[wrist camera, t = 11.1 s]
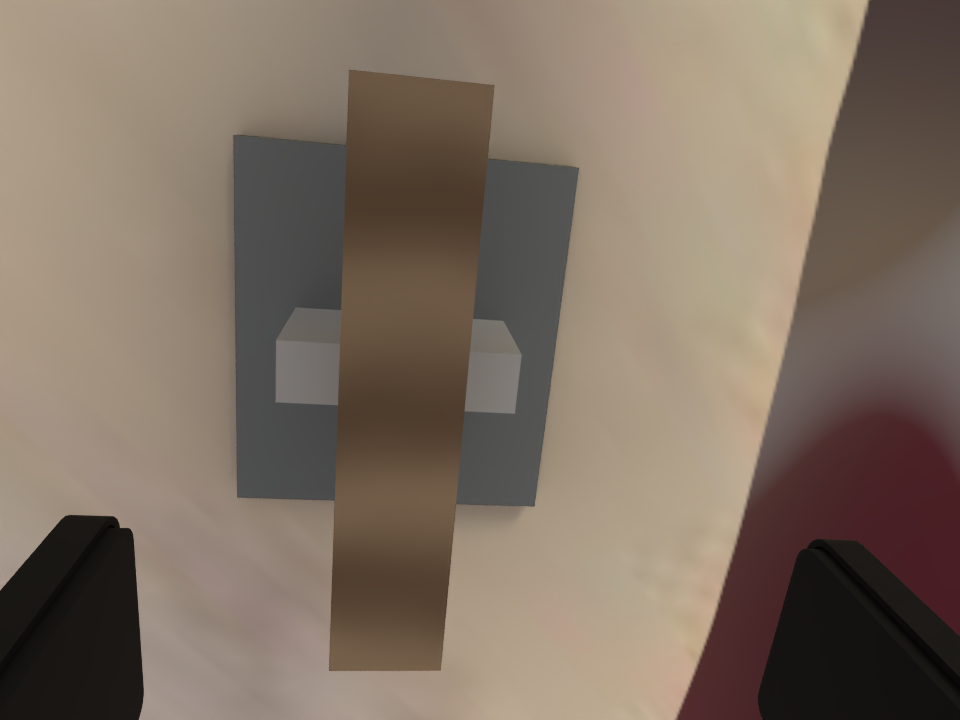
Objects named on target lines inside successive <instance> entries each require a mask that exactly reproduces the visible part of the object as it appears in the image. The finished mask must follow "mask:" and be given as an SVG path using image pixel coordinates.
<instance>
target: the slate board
mask: <svg viewBox="0 0 960 720" xmlns="http://www.w3.org/2000/svg"><path fill="white" fill-rule="evenodd" d="M233 137H234V232H235V326H236V420H237V497H239V498H272V499H305V500H335V479H336V449H337V420H338V390H339V360H340V330H341V301H342V271H343V241H344V211H345V182H346V152H347V145H338V144H327V143H317V142H306V141H296V140H285V139H275V138H265V137H254V136H244V135H233ZM578 171H579V168H576V167H569V166H558V165H548V164H537V163H527V162H516V161H506V160H495V159H488V160H487V171H486V182H485V193H484V204H483V215H482V226H481V237H480V247H479V258H478V269H477V280H476V291H475V302H474V313H473V324H472V335H471V346H470V357H469V367H468V378H467V389H466V400H465V411H464V422H463V433H462V444H461V455H460V466H459V476H458V487H457V498H456V504H469V505H502V506H535V498H536V490H537V483H538V475H539V468H540V460H541V452H542V445H543V437H544V430H545V422H546V415H547V407H548V399H549V392H550V384H551V377H552V369H553V361H554V354H555V346H556V339H557V331H558V323H559V316H560V308H561V301H562V293H563V285H564V278H565V270H566V263H567V255H568V247H569V240H570V232H571V225H572V217H573V209H574V202H575V194H576V187H577V179H578Z"/></svg>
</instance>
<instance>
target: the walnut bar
mask: <svg viewBox="0 0 960 720" xmlns="http://www.w3.org/2000/svg"><path fill="white" fill-rule="evenodd" d="M493 95H494V85H486V84H477V83H468V82H458V81H449V80H440V79H430V78H421V77H412V76H402V75H393V74H384V73H374V72H365V71H356V70H349V93H348V122H347V152H346V182H345V211H344V241H343V271H342V301H341V330H340V360H339V390H338V420H337V449H336V479H335V509H334V539H333V568H332V598H331V628H330V658H329V671H441V662H442V651H443V640H444V629H445V618H446V607H447V596H448V586H449V575H450V564H451V553H452V542H453V531H454V520H455V509H456V498H457V487H458V476H459V466H460V455H461V444H462V433H463V422H464V411H465V400H466V389H467V378H468V367H469V357H470V346H471V335H472V324H473V313H474V302H475V291H476V280H477V269H478V258H479V247H480V237H481V226H482V215H483V204H484V193H485V182H486V171H487V160H488V149H489V138H490V128H491V117H492V106H493Z"/></svg>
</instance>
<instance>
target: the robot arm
mask: <svg viewBox="0 0 960 720" xmlns="http://www.w3.org/2000/svg"><path fill="white" fill-rule="evenodd" d="M143 696H144V687H143V672H142V657H141V642H140V627H139V612H138V597H137V582H136V567H135V552H134V539H133V533H132V531H131V529H129V528H120V526H119V522H118V520H117V519H116V518H115V517H114V516H84V515H68V516H65V517H64V518H63V519H61V520H60V522H59V523H58V524H57V525H56V526H55V527H54V529H53V530H52V531H51V532H50V533H49V534H48V536H47V537H46V538H45V539H44V540H43V541H42V543H41V544H40V545H39V546H38V547H37V548H36V550H35V551H34V552H33V553H32V554H31V555H30V557H29V558H28V559H27V560H26V561H25V562H24V564H23V565H22V566H21V567H20V568H19V569H18V571H17V572H16V573H15V574H14V575H13V576H12V578H11V579H10V580H9V581H8V582H7V583H6V585H5V586H4V587H3V588H2V589H1V590H0V720H139V717H140V713H141V709H142V704H143ZM758 704H759V710H760V713H761V717H762V719H763V720H960V636H959V635H958V634H956V633H955V632H954V631H953V630H952V629H951V628H950V627H949V626H948V625H947V624H946V623H945V622H944V621H943V620H941V618H939V617H938V616H937V615H936V614H935V613H934V612H933V611H932V610H931V609H930V608H929V607H928V606H927V605H926V604H925V603H923V602H922V601H921V600H920V599H919V598H918V597H917V596H916V595H915V594H914V593H913V592H912V591H911V590H910V589H909V588H908V587H906V586H905V585H904V584H903V583H902V582H901V581H900V580H899V579H898V578H897V577H896V576H895V575H894V574H893V573H892V572H890V571H889V570H888V569H887V568H886V567H885V566H884V565H883V564H882V563H881V562H880V561H879V560H878V559H876V558H875V557H874V556H873V555H872V554H871V553H870V552H869V551H868V550H867V549H866V548H865V547H864V546H863V545H861V544H860V543H858V542H857V541H853V540H830V539H816V540H814V541H812V542H811V543H810V544H809V546H808V548H807V549H803V550H801V551H800V553H799V554H798V556H797V559H796V562H795V566H794V569H793V573H792V576H791V580H790V583H789V587H788V590H787V594H786V597H785V601H784V604H783V608H782V611H781V615H780V618H779V622H778V626H777V629H776V633H775V636H774V640H773V644H772V647H771V650H770V654H769V657H768V661H767V664H766V668H765V671H764V675H763V678H762V682H761V686H760V689H759V694H758Z"/></svg>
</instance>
